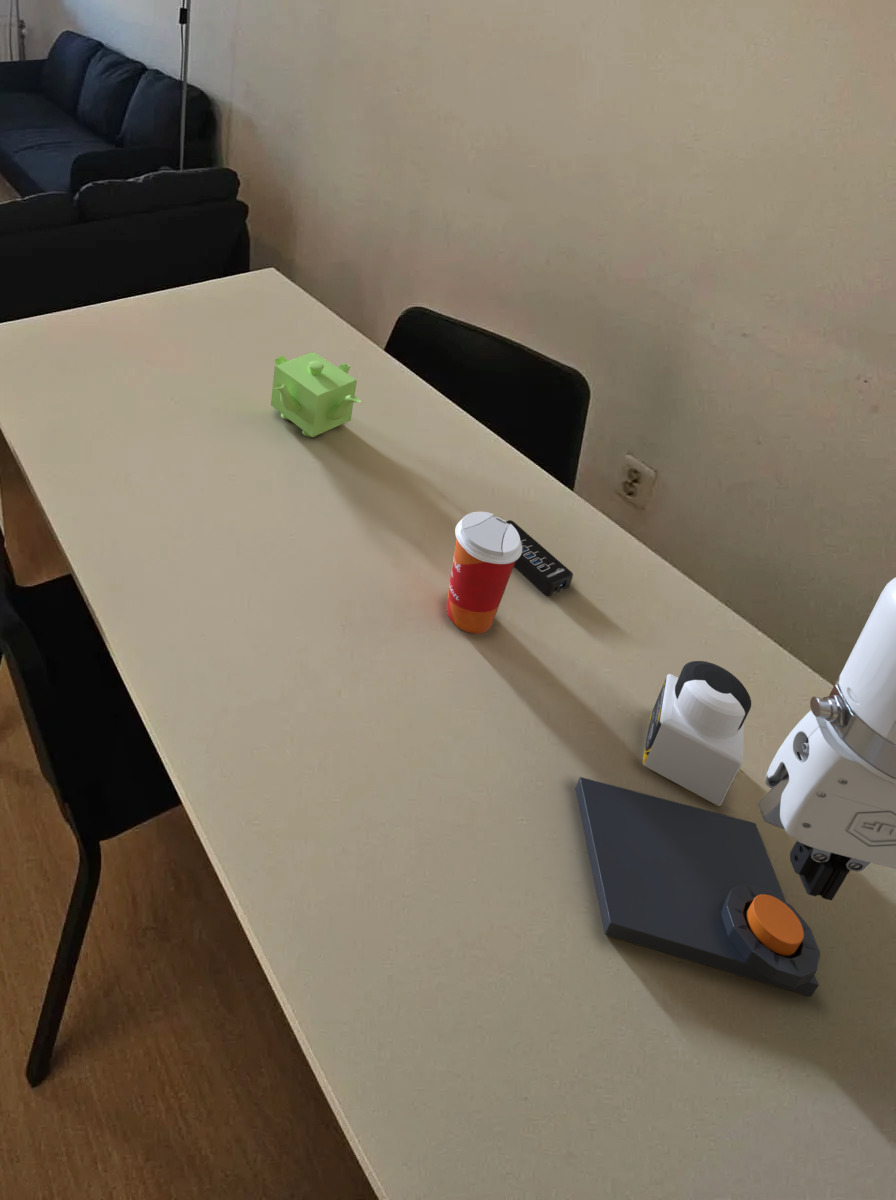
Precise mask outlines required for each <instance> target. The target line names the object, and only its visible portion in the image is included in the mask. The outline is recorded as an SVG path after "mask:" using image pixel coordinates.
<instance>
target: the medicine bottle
mask: <svg viewBox="0 0 896 1200" xmlns="http://www.w3.org/2000/svg"><path fill="white" fill-rule="evenodd" d="M751 708H752V699H751V696H750V694H749V692H748V690H747V689H746V687H745V686H744V684H743V683H742V682H741V680H740V679H738V677H736V676H735V674H733V673H731V672H730V671H728V670H727V669H725V668H723V667H722V666H720V665H717V664H715V663H712V662H709V661H705V660H692V661H689V662H687V663H686V664H684V666H683V667H682V669H681V671H680V673H679V676H678V677H677V676H676V675H674V674H671V673H668V674H667V675H666V677H665V679H664V681H663V684H662V686H661V688H660V691H659V693H658V697H657V698H656V701H655V704H654V705H653V708H652V711H651V713H650V715H649V722H648V728H647V734H646V739H645V746H644V750H643V751H644V752H643V757H642V765H643V766H644V767H645V768H647V769H649V770H651V771H653V772H654V773H657V774H659V775H660V776H662V777H664V778H665V779H667V780H669V781H671V782H673V783H675V784H676V785H678V786H680V787H682V788H684V789H686V790H688V791H690V792H691V793H693V794H695V795H697V796H699V797H701V798H702V799H704V800H706V801H708V802H709V803H711V804H713V805H714V806H718V807H720V806H721V805H722V804H723V802H724V800H725V798H726V796H727V793H728V792H729V790H730V788H731V786H732V785H733V782H734V780H735V778H736V776H737V775H738V772H739V770H740V768H741V766H742V764H743V753H744V734H745V732H744V731H745V721H746V719H747V717H748V715H749V712H750V711H751Z"/></svg>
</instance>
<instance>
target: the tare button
mask: <svg viewBox="0 0 896 1200" xmlns="http://www.w3.org/2000/svg"><path fill="white" fill-rule="evenodd" d="M747 922H748V925H749V927H750V929H751V931H752V932H753V934H754V935H755V937H756V938H757V939H758V940H759V941H760V942H761V943H762V944H763V945H764V946H765V947H767V948H768V949H770V950H771V951H773V952H775V953H777V954H780V955H785V956H788V955H792V954H794V953H795V951H796V950H797V948H798V947H799V945H800V944H801V942H802V940H803V938H804V931H803V927H802V925H801V923H800V921H799V919H798V917H797V916H796V915H795V913H794V912H793V911H792V910H791V909H790V908H789V907H788V906H787V905H786V904H784V903H783V902H782V901H780V900H779V899H777V898H775V897H773V896H770V895H764V894H762V895H758V896H756V897H755V898H754V900H753V902H752V903H751V905H750V907H749V909H748V910H747Z"/></svg>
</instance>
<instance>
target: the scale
mask: <svg viewBox="0 0 896 1200" xmlns="http://www.w3.org/2000/svg"><path fill="white" fill-rule="evenodd" d="M575 793H576V799H577V804H578V809H579V814H580V818H581V823H582V828H583V832H584V837H585V842H586V846H587V847H586V848H587V853H588V858H589V863H590V869H591V873H592V876H593V882H594V887H595V892H596V897H597V903H598V907H599V912H600V917H601V922H602V927H603V932H604V935H605V936H607V937H611V938H613V939H618V940H621V941H624V942H627V943H631V944H634V945H637V946H640V947H644V948H647V949H650V950H654V951H657V952H661V953H664V954H668V955H669V956H670V955H671V956H674V957H676V958H681V959H684V960H686V961H691V962H693V963H696V964H700V965H703V966H707V967H711V968H713V969H717V970H720V971H723V972H727V973H729V974H733V975H736V976H740V977H743V978H747V979H750V980H753V981H757V982H760V983H762V984H766V985H769V986H773V987H776V988H779V989H783V990H786V991H790V992H792V993H796V994H798V995H799V994H800V995H803V996H806V997H809V998H810V997H812V996H813V995H814V993H815V992H816V991H817V989H818V987H820V984H819V982H818V979H817V976H816V973H817V972H818V968H819V962H820V958H821V951H820V948H819V945H818V942H817V941H816V938H815V936H814V933H813V931H812V929H811V927H810V926H809V925H808V924H807V922H806V921H805V920H804V919H803V917H802V916H801V915H800V914H799V913H798V911H796V909H795V908H794V906H793V905H791V904H790V903H789V902H788V901H787V900H786V897H785V895H784V892H783V890H782V888H781V885H780V882H779V880H778V877H777V874H776V871H775V870H774V866H773V864H772V861H771V859H770V856H769V854H768V852H767V849H766V847H765V843H764V841H763V839H762V836H761V834H760V831H759V828H758V825H757V823H756V822H753V821H749V820H745V819H741V818H737V817H734V816H730V815H726V814H723V813H719V812H715V811H711V810H707V809H704V808H700V807H696V806H692V805H689V804H685V803H682V802H677V801H674V800H669V799H665V798H662V797H658V796H654V795H650V794H647V793H643V792H640V791H636V790H632V789H628V788H624V787H619V786H616V785H613V784H608V783H605V782H601V781H597V780H593V779H591V778H586V777H582V776H580V777H579V778H578V781H577V783H576V785H575ZM762 894H764V895H770V896H773V897H775V898H777V899H779V900H780V901H782V902H783V903H784V904H786V905H787V906H788V907H789V908H790V909H791V910H792V911H793V912H794V913H795V915H796V916H797V917H798V919H799V921H800V923H801V925H802V927H803V931H804V938H803V940H802V942H801V944H800V945H799V947H798V948H797V950H796V951H795V953H794V954H792V955H788V956H785V955H780V954H777V953H775V952H773V951H771V950H770V949H768V948H767V947H765V946H764V945H763V944H762V943H761V942H760V941H759V940H758V939H757V938H756V937H755V935H754V934H753V932H752V931H751V929H750V927H749V925H748V922H747V910H748V909H749V907H750V905H751V903H752V902H753V900H754V898H755V897H756V896H758V895H762Z"/></svg>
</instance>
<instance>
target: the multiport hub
mask: <svg viewBox="0 0 896 1200" xmlns="http://www.w3.org/2000/svg"><path fill="white" fill-rule="evenodd" d="M505 521H506V523H508V524H509V525H510V524H512V525H513V526H514V528H515V529H516V530H517V532H518V534H519V536H520V542H521V545H522V553H521V556H520V557H519V558H518V559H517V560H516V561H515V564H514V567H513V568H515V569H516V570H517V571H518V572H519V573H520V574H521V575H522V576H523V577H525V578H526V579H527V580H528V581H529V582H530V583H531V584H532V585H533V586H534V587H535V589H537V590H539V592H540V593H541V594H543V595H544V596H545V597H547V598H548V597H551V596H554V595H556V594H559V593H561V592H563V591H565V590H567V589H570V586H571V583H572V580H573V577H574V573H573V572H572V570H570V569H569V568H568V567H567V566H566V565H564V564H563V563H562V562H561V561H560V560H558V559H557V558H556V557H555V556H554V555H553V554H551V553H550V552H549V551H548V550H547V549H546V548H544V547H543V546H542V544H540V542H537V541H536V539H534V538H533V537H532V536H531V535H530V534H528V533H527V532H526V531H525V530H524V529H523V528H522V527H520V526H519V525H518V524H517V523H516V522H515V521H513V520H511V519H509V520H505Z"/></svg>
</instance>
